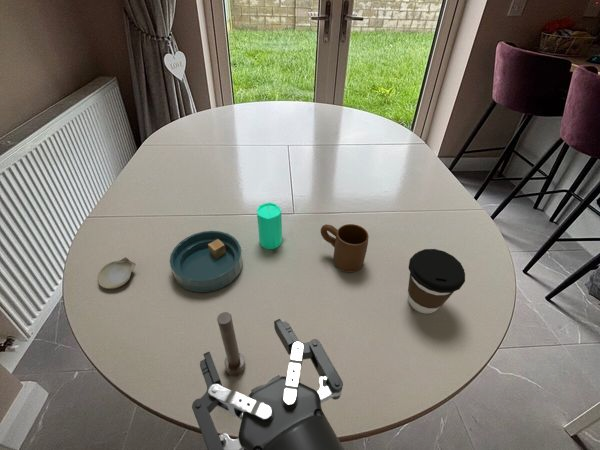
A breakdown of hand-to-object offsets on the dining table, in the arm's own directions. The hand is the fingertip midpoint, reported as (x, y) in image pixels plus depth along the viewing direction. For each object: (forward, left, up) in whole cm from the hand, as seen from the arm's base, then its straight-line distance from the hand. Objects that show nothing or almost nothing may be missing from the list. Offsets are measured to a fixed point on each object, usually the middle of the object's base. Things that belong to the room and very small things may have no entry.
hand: (243, 339), depth 38 cm
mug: (+37, +18, -26) cm, 49 cm away
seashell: (-8, +46, -26) cm, 53 cm away
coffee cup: (+42, -3, -26) cm, 50 cm away
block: (+14, +38, -25) cm, 48 cm away
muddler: (+2, +10, -26) cm, 28 cm away
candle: (+27, +34, -26) cm, 51 cm away
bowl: (+10, +36, -26) cm, 45 cm away
